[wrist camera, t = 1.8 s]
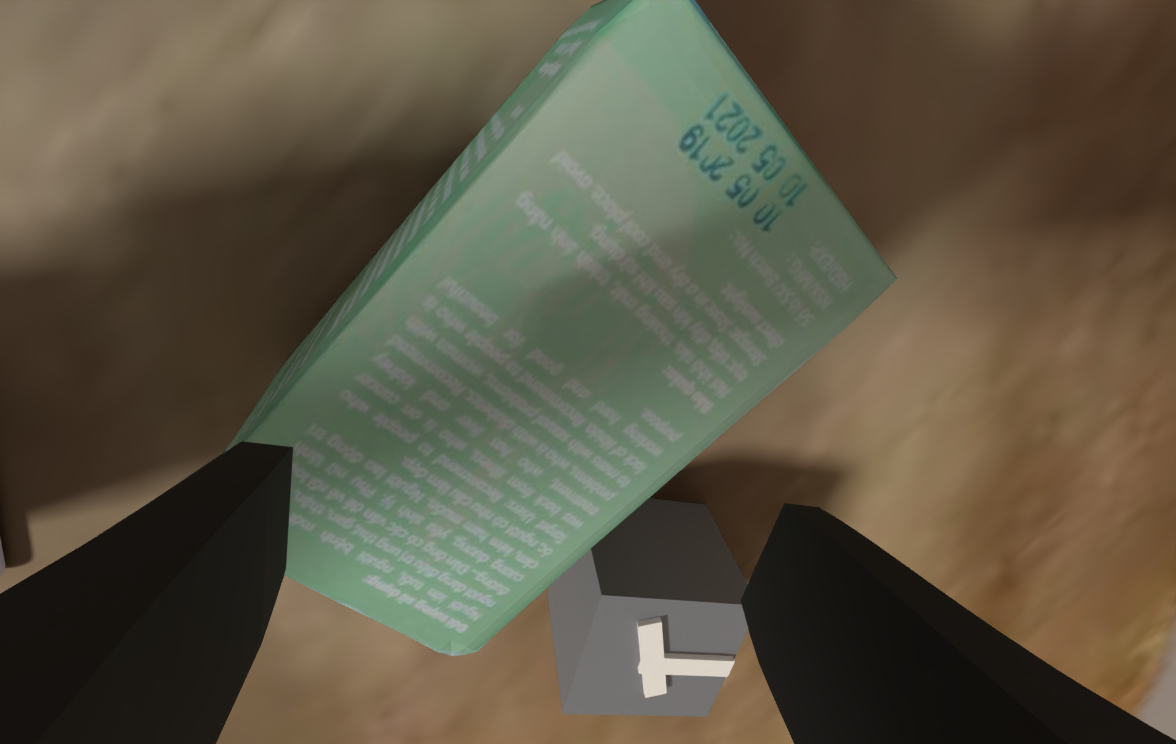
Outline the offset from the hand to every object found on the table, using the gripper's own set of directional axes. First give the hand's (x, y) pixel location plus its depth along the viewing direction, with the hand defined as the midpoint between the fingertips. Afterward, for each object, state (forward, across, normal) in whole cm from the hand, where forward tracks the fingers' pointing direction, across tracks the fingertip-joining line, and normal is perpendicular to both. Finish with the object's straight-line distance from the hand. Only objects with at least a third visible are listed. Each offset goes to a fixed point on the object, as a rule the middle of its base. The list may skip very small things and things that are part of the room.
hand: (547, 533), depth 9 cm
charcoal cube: (+10, -6, +9) cm, 15 cm away
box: (+11, 0, 0) cm, 11 cm away
